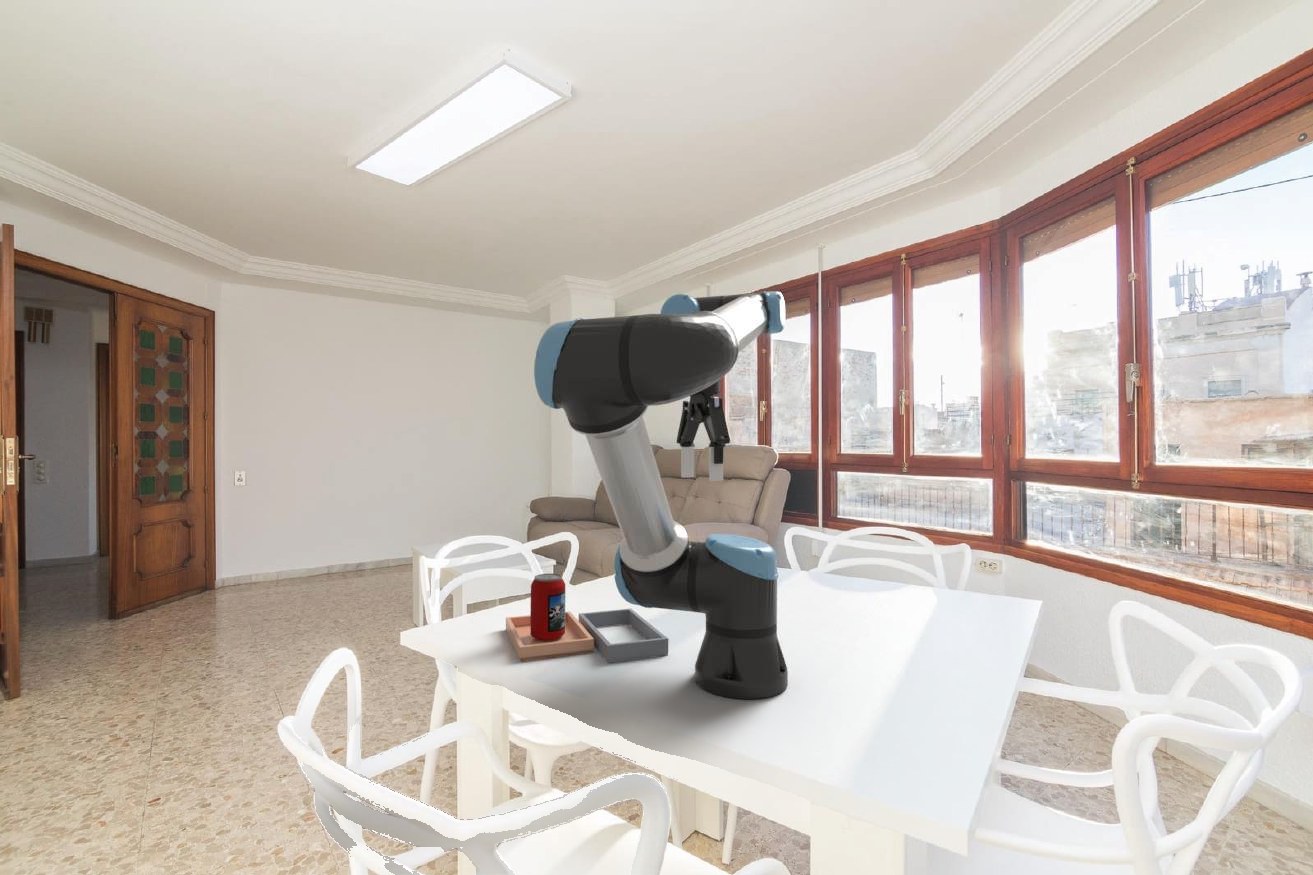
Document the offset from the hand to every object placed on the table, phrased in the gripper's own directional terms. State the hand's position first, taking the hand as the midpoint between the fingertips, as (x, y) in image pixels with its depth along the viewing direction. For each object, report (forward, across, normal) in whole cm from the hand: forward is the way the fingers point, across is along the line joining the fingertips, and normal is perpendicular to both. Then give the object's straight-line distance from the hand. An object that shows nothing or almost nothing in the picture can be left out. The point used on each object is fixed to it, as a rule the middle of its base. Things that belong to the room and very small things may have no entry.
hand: (701, 479), depth 123 cm
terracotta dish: (+32, +7, +30) cm, 44 cm away
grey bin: (+32, +2, +16) cm, 36 cm away
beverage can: (+31, +7, +30) cm, 44 cm away
